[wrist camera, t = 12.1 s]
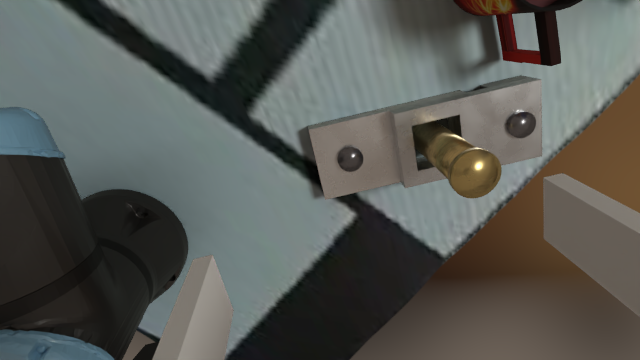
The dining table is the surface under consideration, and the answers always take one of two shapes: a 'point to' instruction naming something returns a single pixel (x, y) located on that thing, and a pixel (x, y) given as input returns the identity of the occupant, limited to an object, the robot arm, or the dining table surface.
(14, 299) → the robot arm
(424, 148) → the brass pin
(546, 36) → the mug
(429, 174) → the slotted metal plate
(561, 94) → the dining table surface
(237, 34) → the dining table surface
